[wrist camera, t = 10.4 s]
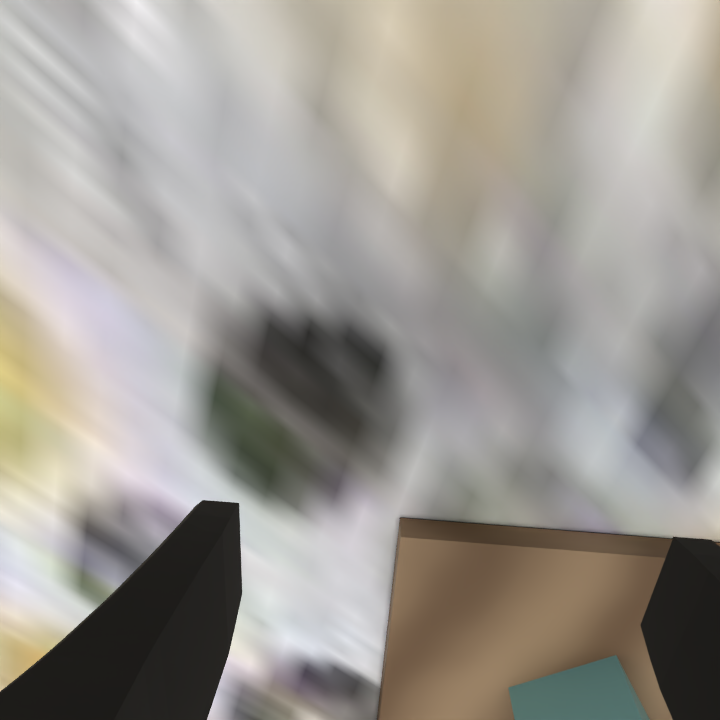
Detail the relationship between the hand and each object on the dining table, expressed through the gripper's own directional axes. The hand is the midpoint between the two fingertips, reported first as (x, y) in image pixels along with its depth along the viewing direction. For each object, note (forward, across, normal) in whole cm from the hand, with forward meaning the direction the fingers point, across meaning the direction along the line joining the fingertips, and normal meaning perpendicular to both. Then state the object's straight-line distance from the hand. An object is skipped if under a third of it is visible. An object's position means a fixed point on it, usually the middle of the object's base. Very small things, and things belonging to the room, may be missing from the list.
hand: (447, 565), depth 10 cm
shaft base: (+9, -8, +15) cm, 19 cm away
